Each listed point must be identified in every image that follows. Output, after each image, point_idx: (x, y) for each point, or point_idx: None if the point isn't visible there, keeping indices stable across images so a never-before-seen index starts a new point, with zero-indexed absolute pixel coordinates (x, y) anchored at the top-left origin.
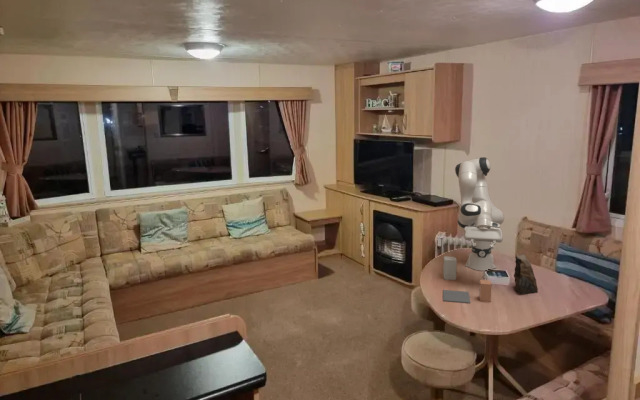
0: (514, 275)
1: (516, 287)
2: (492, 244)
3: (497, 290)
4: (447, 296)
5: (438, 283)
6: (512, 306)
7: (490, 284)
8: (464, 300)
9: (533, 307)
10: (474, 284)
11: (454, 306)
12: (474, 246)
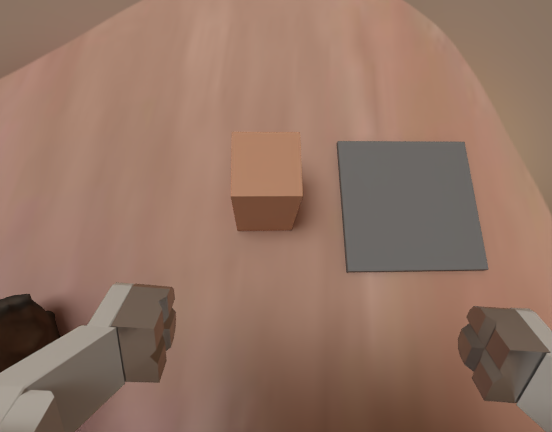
0: None
1: (50, 339)
2: (114, 329)
3: (176, 346)
4: (451, 187)
5: None
6: (139, 150)
7: (238, 132)
8: (365, 157)
9: (37, 158)
10: (311, 420)
11: (405, 103)
12: (491, 309)
